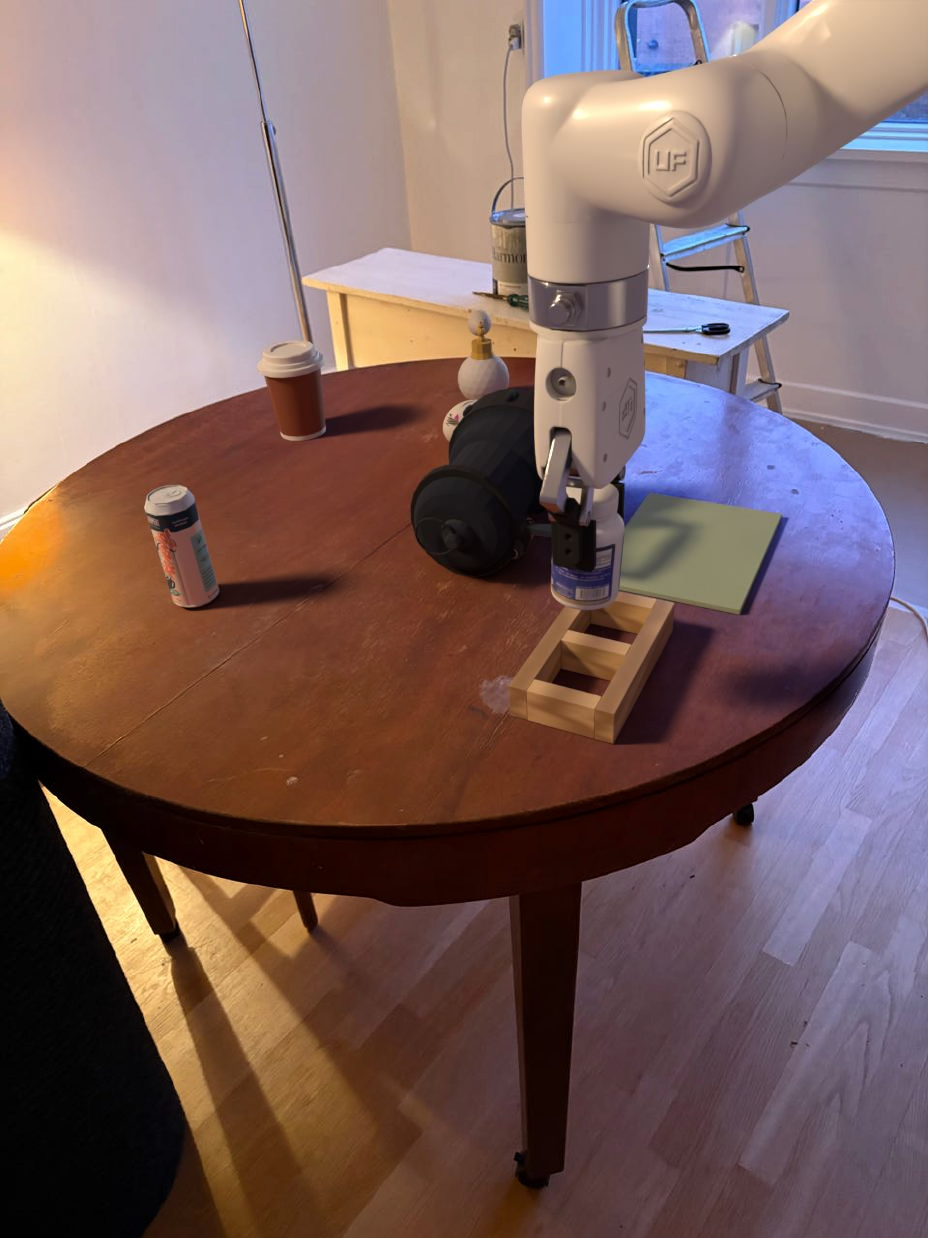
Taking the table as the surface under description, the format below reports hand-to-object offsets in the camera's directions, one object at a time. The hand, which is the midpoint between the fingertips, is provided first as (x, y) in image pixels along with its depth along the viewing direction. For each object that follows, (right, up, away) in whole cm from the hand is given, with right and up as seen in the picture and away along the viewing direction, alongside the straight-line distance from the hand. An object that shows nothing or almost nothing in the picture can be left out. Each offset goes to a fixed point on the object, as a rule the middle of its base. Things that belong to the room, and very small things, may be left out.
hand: (588, 545), depth 66 cm
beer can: (-37, -4, +25) cm, 45 cm away
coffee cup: (-32, +21, +60) cm, 71 cm away
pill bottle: (0, -4, +3) cm, 5 cm away
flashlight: (-4, +2, +30) cm, 30 cm away
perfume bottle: (-7, +27, +66) cm, 72 cm away
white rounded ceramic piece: (-8, +17, +51) cm, 54 cm away
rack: (+2, -10, +11) cm, 15 cm away
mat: (+14, +2, +27) cm, 30 cm away
